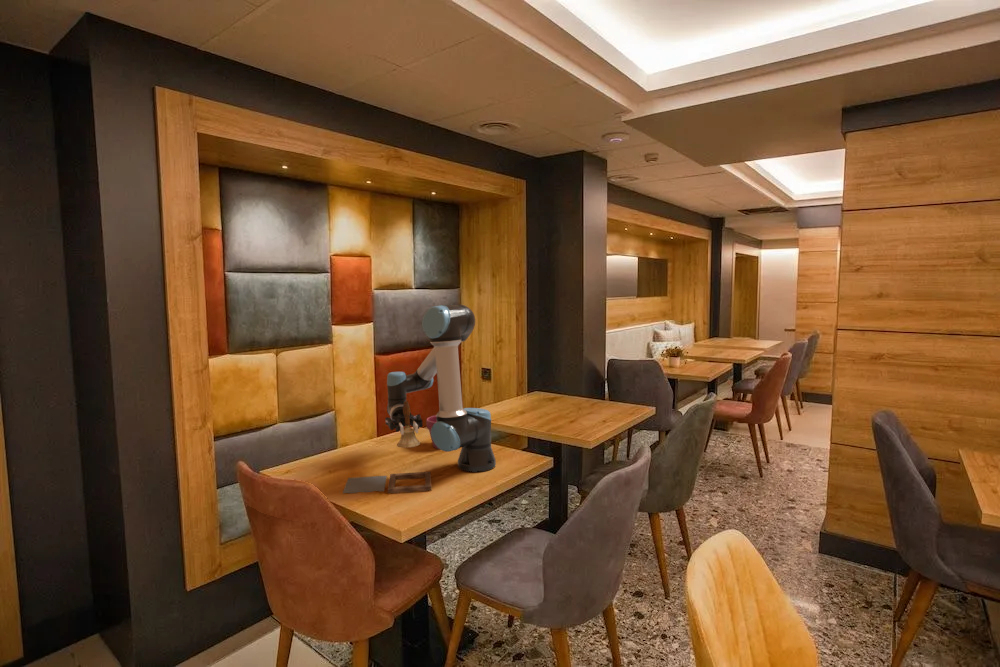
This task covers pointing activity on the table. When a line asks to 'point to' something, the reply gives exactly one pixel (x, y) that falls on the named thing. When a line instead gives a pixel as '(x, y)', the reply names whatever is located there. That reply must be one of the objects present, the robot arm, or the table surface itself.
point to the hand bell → (407, 431)
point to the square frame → (408, 476)
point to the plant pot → (430, 423)
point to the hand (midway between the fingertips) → (409, 430)
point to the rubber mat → (365, 484)
